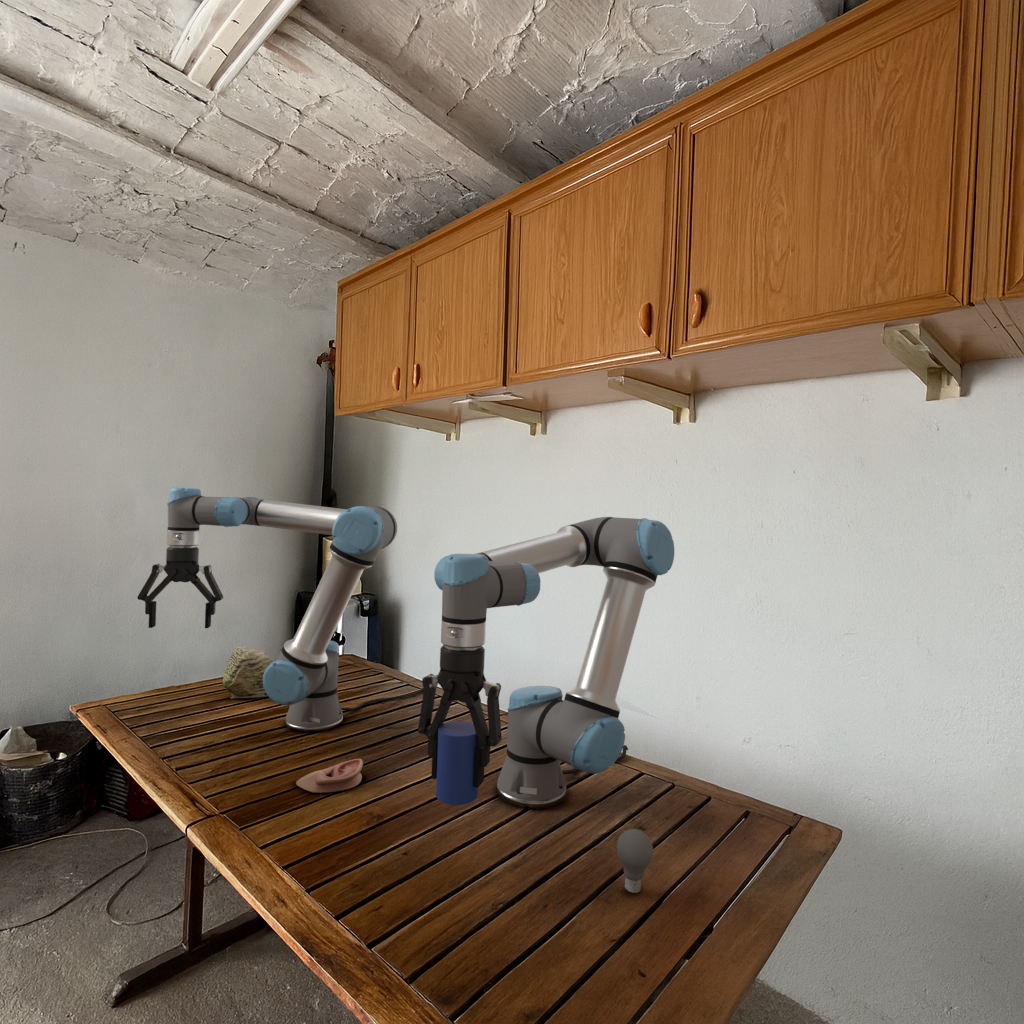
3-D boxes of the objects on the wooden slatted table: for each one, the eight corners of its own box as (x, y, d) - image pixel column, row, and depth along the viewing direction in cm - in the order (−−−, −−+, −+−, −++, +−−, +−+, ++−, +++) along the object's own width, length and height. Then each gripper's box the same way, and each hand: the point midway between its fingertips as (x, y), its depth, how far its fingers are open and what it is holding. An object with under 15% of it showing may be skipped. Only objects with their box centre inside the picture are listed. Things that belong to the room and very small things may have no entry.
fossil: (218, 695, 195) (220, 647, 195) (278, 685, 208) (279, 640, 207) (228, 703, 189) (230, 653, 188) (289, 692, 201) (290, 645, 201)
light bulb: (610, 879, 108) (613, 822, 108) (644, 879, 109) (647, 822, 109) (619, 902, 102) (622, 840, 102) (655, 901, 103) (658, 840, 103)
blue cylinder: (481, 802, 105) (484, 734, 105) (440, 807, 103) (442, 737, 103) (471, 783, 112) (474, 719, 112) (432, 787, 110) (435, 722, 110)
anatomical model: (289, 770, 136) (316, 750, 147) (288, 789, 136) (315, 767, 147) (346, 778, 133) (369, 757, 145) (345, 797, 133) (368, 774, 145)
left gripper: (124, 546, 160) (122, 629, 161) (229, 549, 165) (226, 630, 165) (136, 544, 168) (134, 623, 168) (236, 546, 172) (234, 624, 172)
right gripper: (399, 643, 107) (394, 778, 107) (511, 657, 100) (505, 800, 101) (419, 635, 114) (415, 761, 114) (525, 647, 107) (520, 781, 108)
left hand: (180, 627), depth 167 cm, fingers open, 13 cm apart
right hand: (457, 779), depth 108 cm, fingers closed on blue cylinder, 7 cm apart
